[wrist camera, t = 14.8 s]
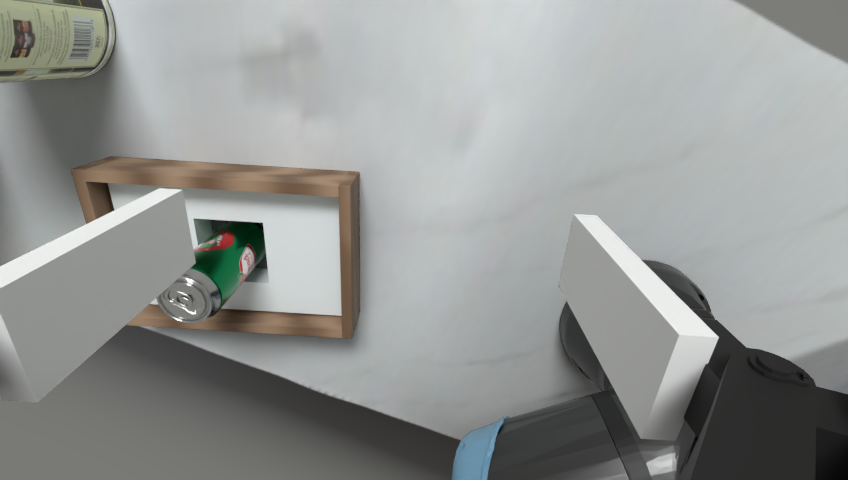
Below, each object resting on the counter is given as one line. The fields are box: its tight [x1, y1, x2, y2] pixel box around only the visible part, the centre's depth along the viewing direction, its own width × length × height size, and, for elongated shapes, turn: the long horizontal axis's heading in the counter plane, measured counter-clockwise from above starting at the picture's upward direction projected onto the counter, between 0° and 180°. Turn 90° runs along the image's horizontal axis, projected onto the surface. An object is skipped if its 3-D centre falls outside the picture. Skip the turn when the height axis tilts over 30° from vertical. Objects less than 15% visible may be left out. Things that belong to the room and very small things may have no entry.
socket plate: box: [108, 183, 342, 316], centre depth 43 cm, size 21×13×3 cm, turn 87°
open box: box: [71, 157, 360, 339], centre depth 42 cm, size 24×16×5 cm, turn 87°
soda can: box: [156, 221, 266, 324], centre depth 39 cm, size 5×5×12 cm
